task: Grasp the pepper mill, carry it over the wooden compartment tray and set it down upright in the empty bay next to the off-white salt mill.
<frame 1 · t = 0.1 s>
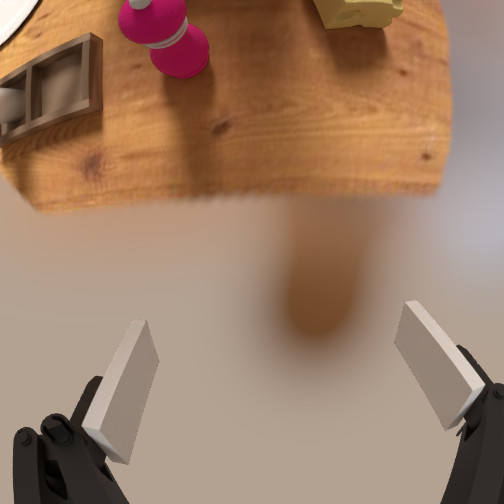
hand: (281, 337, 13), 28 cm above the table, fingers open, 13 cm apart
wooden compartment tray: (43, 95, 30), on the table
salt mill: (17, 106, 29), point 1 cm above the table, touching wooden compartment tray
plate: (12, 3, 20), on the table
pepper mill: (186, 59, 31), on the table
cheese: (342, 3, 27), on the table
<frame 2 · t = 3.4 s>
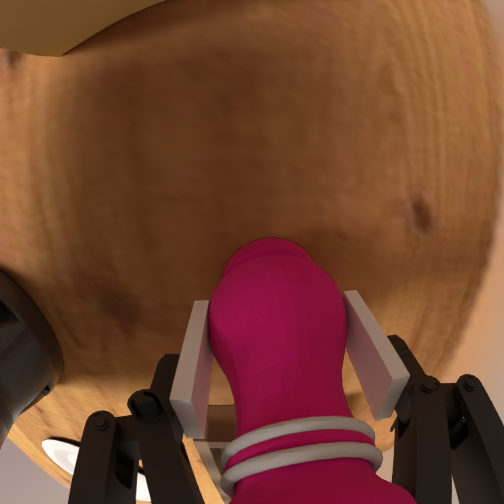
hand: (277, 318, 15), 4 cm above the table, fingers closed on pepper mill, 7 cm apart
wooden compartment tray: (264, 456, 28), on the table
plate: (104, 470, 34), on the table
pepper mill: (269, 280, 19), on the table, touching gripper
when the fingers open (7 cm above the table, at t = 8.8 s): pepper mill drops 1 cm, resting on wooden compartment tray.
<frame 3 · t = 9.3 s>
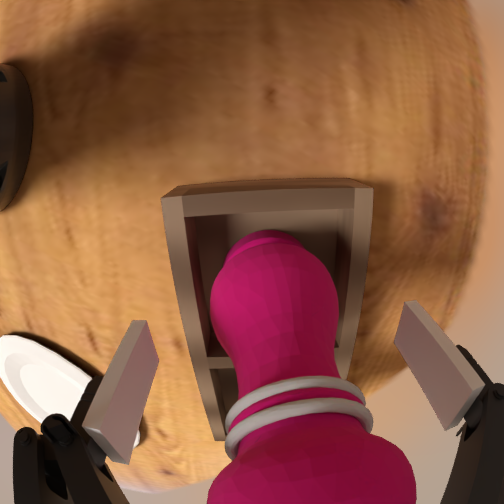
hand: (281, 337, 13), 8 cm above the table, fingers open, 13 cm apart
wooden compartment tray: (269, 326, 23), on the table
plate: (63, 397, 29), on the table
pepper mill: (266, 270, 20), point 1 cm above the table, touching wooden compartment tray
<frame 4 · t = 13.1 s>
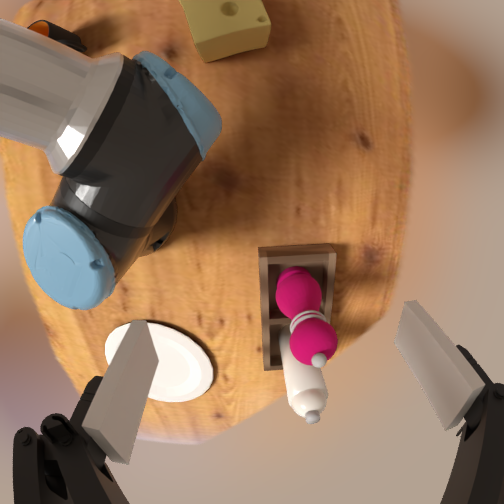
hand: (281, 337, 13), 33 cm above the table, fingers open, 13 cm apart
wooden compartment tray: (293, 306, 51), on the table
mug: (71, 53, 32), on the table
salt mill: (293, 334, 52), point 1 cm above the table, touching wooden compartment tray
plate: (158, 362, 57), on the table
pepper mill: (294, 281, 48), point 1 cm above the table, touching wooden compartment tray
cheese: (226, 31, 33), on the table
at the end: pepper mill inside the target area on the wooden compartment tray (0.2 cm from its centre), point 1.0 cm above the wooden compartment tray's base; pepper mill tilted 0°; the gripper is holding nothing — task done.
